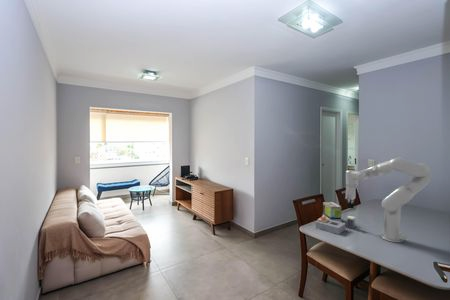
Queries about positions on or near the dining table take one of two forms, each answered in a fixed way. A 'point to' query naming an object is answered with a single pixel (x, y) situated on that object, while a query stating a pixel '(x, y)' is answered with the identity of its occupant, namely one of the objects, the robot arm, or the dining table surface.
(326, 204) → the tea box
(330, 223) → the socket block
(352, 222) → the plug
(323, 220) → the shutter
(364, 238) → the dining table surface
